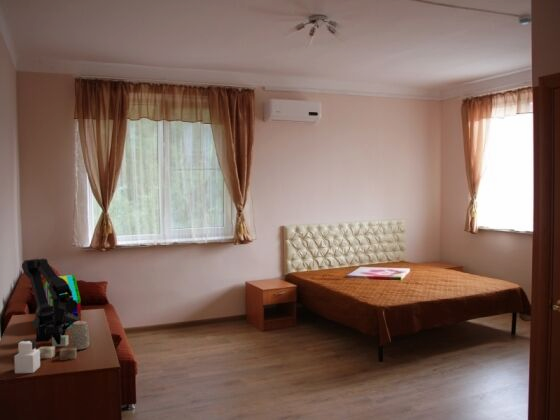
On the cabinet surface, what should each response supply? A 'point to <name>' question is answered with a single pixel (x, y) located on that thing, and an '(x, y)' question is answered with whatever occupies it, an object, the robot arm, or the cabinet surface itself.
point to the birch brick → (47, 352)
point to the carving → (80, 335)
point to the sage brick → (63, 341)
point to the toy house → (73, 286)
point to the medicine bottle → (27, 357)
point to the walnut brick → (68, 353)
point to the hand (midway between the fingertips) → (60, 342)
